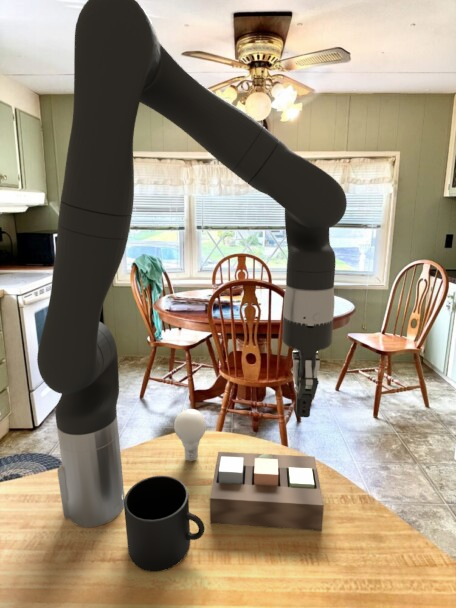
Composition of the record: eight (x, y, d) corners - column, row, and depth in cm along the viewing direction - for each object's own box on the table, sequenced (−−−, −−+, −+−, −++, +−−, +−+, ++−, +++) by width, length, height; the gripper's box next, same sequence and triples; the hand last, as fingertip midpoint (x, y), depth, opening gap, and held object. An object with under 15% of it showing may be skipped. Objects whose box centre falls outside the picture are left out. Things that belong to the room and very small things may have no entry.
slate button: (219, 493, 69) (218, 471, 68) (221, 477, 73) (221, 456, 72) (242, 494, 69) (242, 472, 68) (243, 478, 73) (243, 457, 71)
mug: (195, 583, 56) (193, 530, 54) (116, 566, 59) (111, 515, 56) (213, 529, 65) (212, 482, 62) (144, 516, 68) (140, 471, 65)
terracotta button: (254, 495, 69) (254, 473, 67) (254, 479, 72) (254, 458, 71) (277, 497, 68) (278, 474, 67) (276, 480, 72) (277, 459, 71)
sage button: (289, 505, 69) (290, 483, 67) (287, 488, 72) (288, 467, 71) (313, 506, 68) (314, 484, 67) (310, 489, 72) (311, 468, 71)
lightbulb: (206, 469, 79) (204, 420, 76) (173, 469, 79) (171, 420, 76) (208, 449, 85) (206, 402, 82) (178, 449, 85) (175, 402, 82)
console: (210, 523, 66) (209, 496, 65) (218, 474, 78) (218, 450, 76) (321, 530, 65) (323, 503, 63) (313, 479, 76) (314, 455, 75)
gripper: (281, 302, 68) (278, 394, 73) (285, 327, 55) (280, 437, 60) (326, 303, 67) (320, 396, 72) (341, 329, 55) (332, 440, 59)
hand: (302, 414), depth 66 cm, fingers closed
